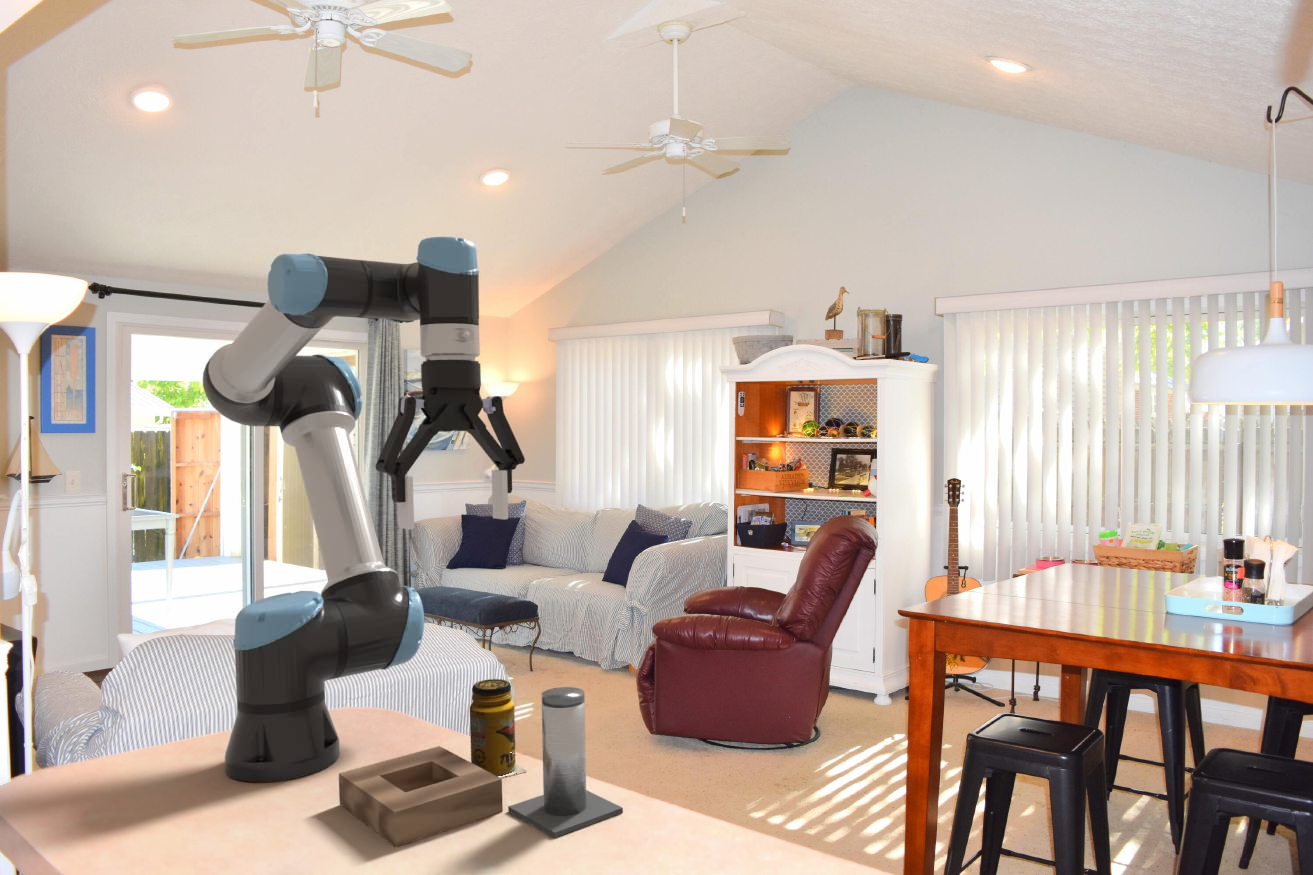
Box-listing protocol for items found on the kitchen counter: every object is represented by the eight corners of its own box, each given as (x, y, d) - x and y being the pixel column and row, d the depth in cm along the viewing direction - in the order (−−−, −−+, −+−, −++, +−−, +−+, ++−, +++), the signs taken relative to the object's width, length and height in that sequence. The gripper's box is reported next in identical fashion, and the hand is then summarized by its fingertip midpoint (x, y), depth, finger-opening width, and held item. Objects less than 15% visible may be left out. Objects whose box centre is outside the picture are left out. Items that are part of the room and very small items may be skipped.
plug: (535, 806, 116) (533, 692, 116) (570, 794, 120) (568, 684, 119) (559, 819, 112) (557, 702, 112) (595, 807, 116) (592, 693, 115)
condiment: (527, 772, 129) (524, 684, 129) (468, 786, 125) (465, 696, 124) (504, 756, 135) (502, 673, 135) (447, 769, 131) (445, 683, 130)
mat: (508, 811, 117) (508, 806, 117) (574, 788, 123) (574, 784, 123) (554, 837, 109) (554, 832, 109) (622, 812, 116) (622, 807, 116)
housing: (339, 804, 120) (338, 773, 120) (440, 775, 129) (439, 745, 129) (395, 846, 108) (394, 811, 107) (502, 810, 117) (501, 778, 117)
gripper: (370, 355, 112) (376, 535, 112) (547, 359, 128) (551, 516, 129) (345, 359, 117) (350, 530, 118) (517, 362, 134) (521, 513, 134)
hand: (455, 523), depth 123 cm, fingers open, 13 cm apart
